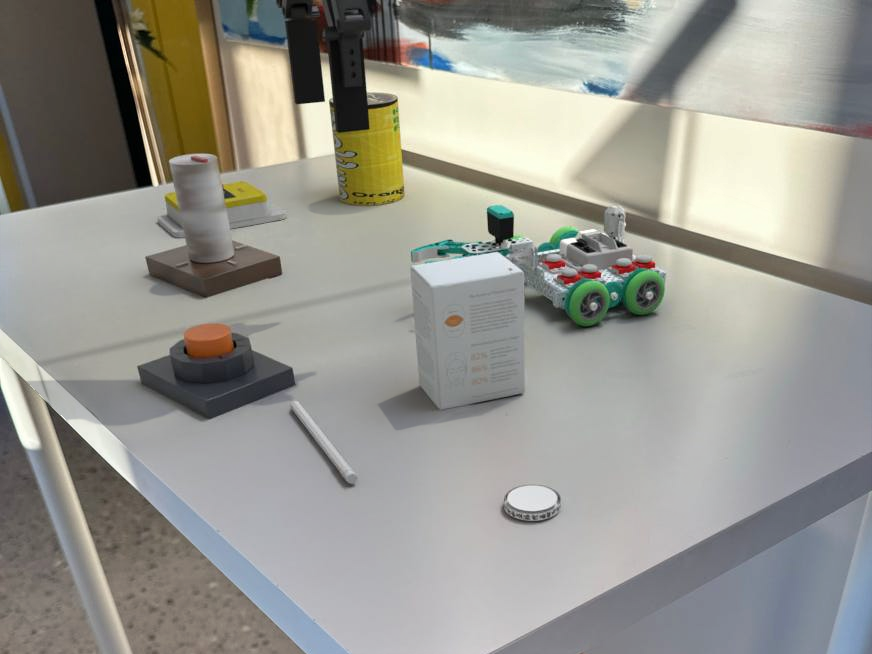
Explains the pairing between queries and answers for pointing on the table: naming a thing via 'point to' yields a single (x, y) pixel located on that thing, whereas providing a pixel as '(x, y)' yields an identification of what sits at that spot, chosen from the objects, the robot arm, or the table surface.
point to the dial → (202, 207)
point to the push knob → (208, 340)
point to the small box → (469, 329)
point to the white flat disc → (532, 502)
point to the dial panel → (214, 269)
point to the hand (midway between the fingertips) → (330, 116)
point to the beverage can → (371, 155)
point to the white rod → (324, 443)
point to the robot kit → (570, 265)
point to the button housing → (216, 378)
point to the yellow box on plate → (228, 208)
